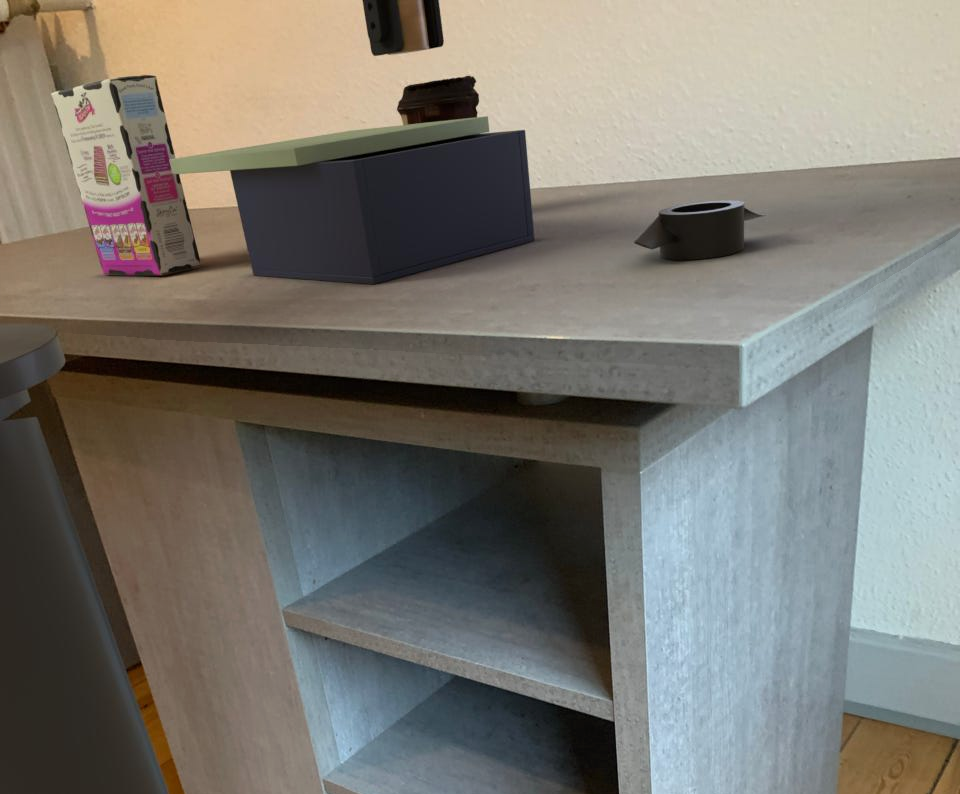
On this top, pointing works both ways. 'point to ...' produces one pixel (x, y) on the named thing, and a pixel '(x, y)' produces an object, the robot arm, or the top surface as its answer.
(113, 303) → the top surface
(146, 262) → the candy bar box
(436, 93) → the dark brown block
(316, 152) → the bin lid
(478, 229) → the bin
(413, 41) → the cylinder
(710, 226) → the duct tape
